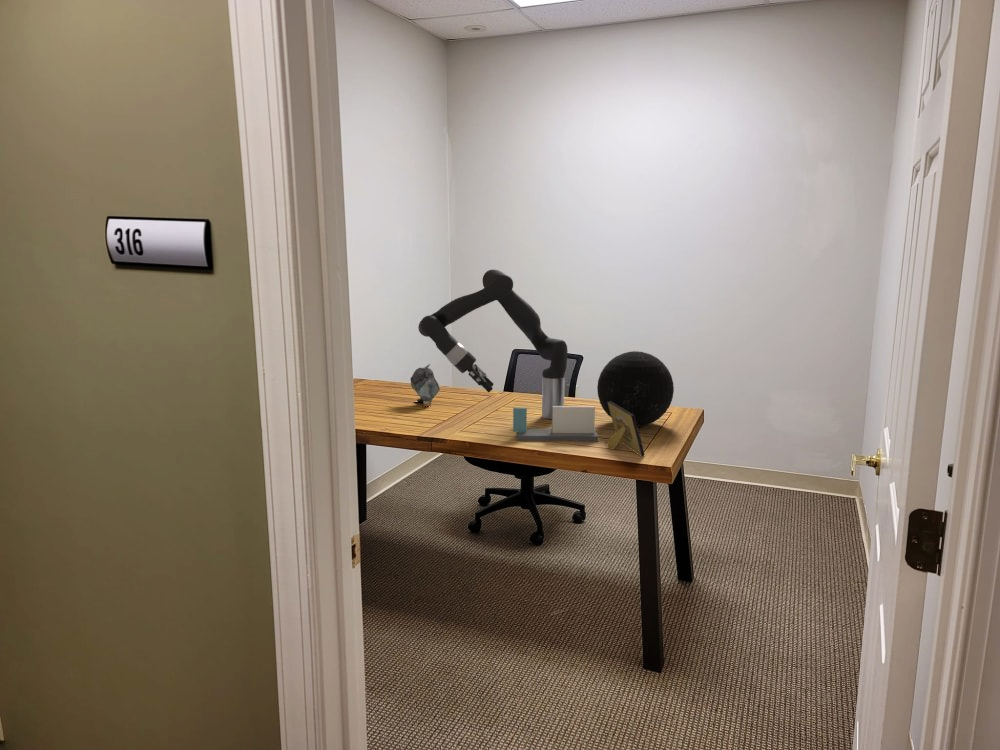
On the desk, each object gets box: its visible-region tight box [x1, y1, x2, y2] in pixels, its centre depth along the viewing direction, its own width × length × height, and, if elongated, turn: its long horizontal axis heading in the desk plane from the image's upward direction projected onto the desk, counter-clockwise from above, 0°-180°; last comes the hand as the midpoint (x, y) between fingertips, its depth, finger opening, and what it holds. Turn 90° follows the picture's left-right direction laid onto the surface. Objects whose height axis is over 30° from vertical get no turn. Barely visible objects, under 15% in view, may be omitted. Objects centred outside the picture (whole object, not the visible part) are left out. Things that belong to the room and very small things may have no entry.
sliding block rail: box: [516, 405, 599, 443], centre depth 263 cm, size 10×30×12 cm, turn 88°
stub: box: [512, 407, 528, 433], centre depth 263 cm, size 1×5×9 cm, turn 88°
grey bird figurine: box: [410, 363, 441, 407], centre depth 317 cm, size 14×15×18 cm
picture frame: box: [606, 401, 646, 457], centre depth 249 cm, size 23×9×15 cm, turn 12°
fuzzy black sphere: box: [596, 350, 675, 427], centre depth 280 cm, size 30×30×30 cm
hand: (491, 388), depth 261 cm, fingers open, 8 cm apart
